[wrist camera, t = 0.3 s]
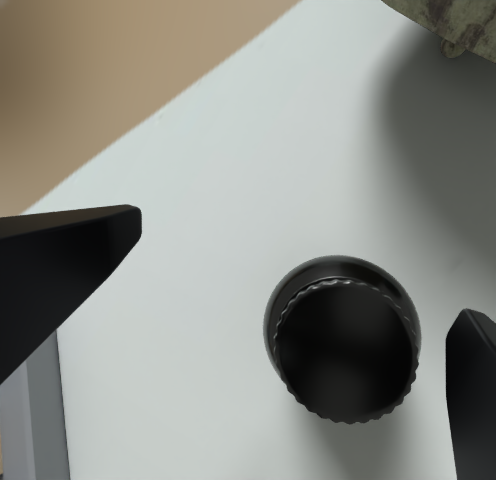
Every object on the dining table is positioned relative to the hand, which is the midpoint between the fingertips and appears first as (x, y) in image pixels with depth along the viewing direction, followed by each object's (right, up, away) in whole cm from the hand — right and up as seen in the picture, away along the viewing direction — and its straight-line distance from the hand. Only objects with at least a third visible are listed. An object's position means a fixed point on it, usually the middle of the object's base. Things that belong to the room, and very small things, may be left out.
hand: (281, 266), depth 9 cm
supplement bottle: (+5, -4, +14) cm, 15 cm away
